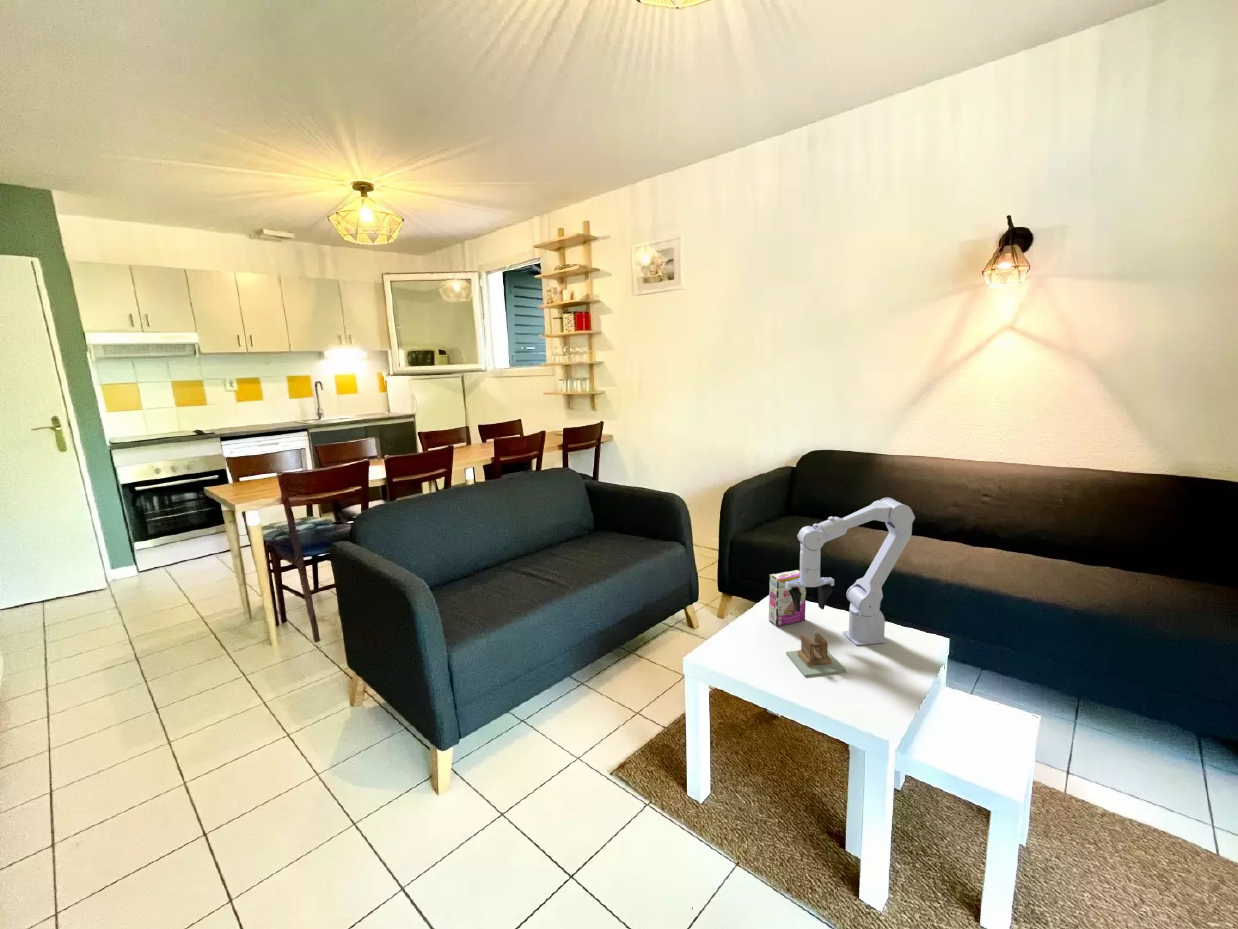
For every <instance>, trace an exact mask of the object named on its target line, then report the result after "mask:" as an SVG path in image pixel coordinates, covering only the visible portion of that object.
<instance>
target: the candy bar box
mask: <svg viewBox="0 0 1238 929" xmlns="http://www.w3.org/2000/svg"><path fill="white" fill-rule="evenodd" d="M798 578H800V569H795V570H791V571H783V572H778V573H772V574H769V587H768V588H769V591H768V592H769V593H768V594H769V596H768V598H769V600H768V621H769V622H770V623H771V624H773V625H774V626H775V627H781V626H785V625H791V624H796V623H801V622H804V621H806V601H807V600H806V598H807V587H804V588H799V591H800V592H801V593H802V595H801V600H800V612H797V611H796V610H795V608H794V603H793V600H792V597H791V595H790V593H789V591H788V589H786V588H785V582H786V581H791V580H795V579H798Z"/></svg>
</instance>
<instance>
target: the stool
mask: <svg viewBox="0 0 1238 929" xmlns="http://www.w3.org/2000/svg"><path fill="white" fill-rule="evenodd" d="M800 641H801V642H800V643H801V644H800V649H798V650H797V651H798V654H797V655H798V656H799V658H800V659H801V660H802V661H803V662H804V663H805V665H806V666H816V665H825V664H831V658H830V657H829V656H828V655H827V652H829V651H828V649H829V648H828V647H829V646H828V644H829V643H828V641H827V639H826V638H824V637H823V635H821V634H820V633H819V632H816V633H814V642H813V641H812V640H811V639H810V638H809V637H808V635H807V634H801V635H800Z"/></svg>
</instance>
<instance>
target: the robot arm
mask: <svg viewBox="0 0 1238 929" xmlns="http://www.w3.org/2000/svg"><path fill="white" fill-rule="evenodd" d="M915 519H916V516H915V514H914V512H913V510H912V508H911V507H910V506H908V505H907V504H903V503H901V502H899V501H897V500H895V499H893V498H892V497H888V496H887V497H884V498H881V499H878V500H875V501H873V502H872V503H871V504H870V505H868V506H865V507H863V508H861V509H859V510H857V511H854V512H853V513H851V514H848V515H846V516H844V517H838V516H829V517H828V518H827V519H826V520H824V521H821V522H819V523H816V522H815V523H814V524H812V526H811V525H806V526H803V527H802V528H800V530H799V531H798V533H797V535H796V537H797V540H798V541H799V542H800V543H799V545H800V552H799V571H800V578H798V579H795V580H791V581H786V582H785V588H786V589H788V591H789V593H790V595H791V597H792V600H793V603H794V608H795V610H796V611H797V612H800V600H801V595H802V593H801V592H800V591H799V588H804V587H806V588H817V594H818V595H817V596H818V597H817V599H818V600H817V601H818V602H817V604H818V608H819V609H821V610H824V609H825V606H826V603H827V600H828V599H829V597H830V595H831V594H832V592H833V586H835V579H834V578H832V577H831V576H830V577H823V576H822V577H821V549H822V547H824V544H825V543H827V542H829V541H832V540H834V539H837V538H840V537H842V536H845V535H846V534H847V531H848V530H849V529H852V528H855V527H858V526H860V525H863V524H865V523H869V522H871V521H878V522H883V523H884V524H885V525H886V528H887V530H888V534H887V536H886V537H885V539H884V541H883V542H882V544H881V547H880V548H879V550H878V551H877V553H876V554H875V556H874V558H873V560H872V562H871V563H870V565H869V568H868V569H867V571H865V574H864V576H863V577H861V578H858V579H856V580H855V582H854V583H853V584H852V585H851V586H850V587H849V588H848V589H847V591H846V595H845V596H846V599H847V601H848V602H850V603H849V618H848V619H849V620H848V630H844V631H842V634H843V635H844V636H845V637H847V638H848V639H849V640H850V641H851V642H852V643H853V644H854V645H855V646H864V645H872V644H882V643H886V640H885V625H886V620H885V616H884V614H883V613H882V611H881V610H880V609H881V602H882V600H883V598H884V594H883V590H882V587H883V585H884V584H885V582H886V581H887V578H888V577H889V575H890V573H891V572H892V570H893V568H894V567H895V565H896V563H897V562H898V560H899V558H900V556H901V555H902V552H903V551H904V549H905V547H906V546H907V544H908V542H909V541H910V539H911V537H912V533H913V532H912V531H913V522H914V521H915Z"/></svg>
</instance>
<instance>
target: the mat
mask: <svg viewBox="0 0 1238 929" xmlns="http://www.w3.org/2000/svg"><path fill="white" fill-rule="evenodd" d="M797 654H798V650H793V651H792V650H791V651H786V652H785V655H786V656H787V657H788V659H790V661H791V662H792V664H794V666H795V667H796V668H797V669H798V671H799V672H800V673H801V674H802V675H803V677H805V678H808V677H816V676H823V675H834V674H842V673H843V674H844V673H847V671H848V670H847V669H846V668H845V667H844V665H842V664H841V663H840V662H839V661H838V660H837V658H835V656H833V655H832V654H831V653H830V651H828V652H827V655H828V656H829V657H830V658H831V664H825V665H816V666H806V665H805V663H804V662H803V661H802V660H801V659H800V658H799V656H798V655H797Z"/></svg>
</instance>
